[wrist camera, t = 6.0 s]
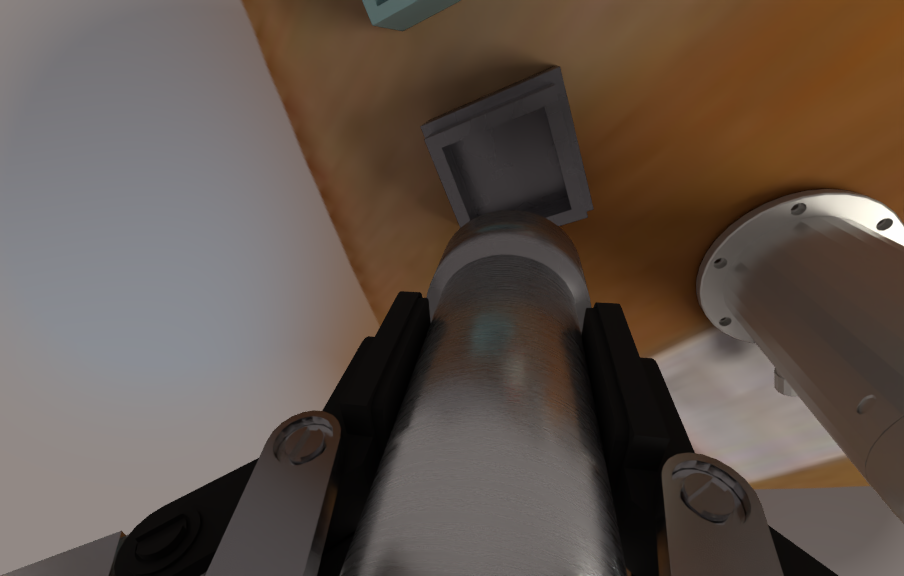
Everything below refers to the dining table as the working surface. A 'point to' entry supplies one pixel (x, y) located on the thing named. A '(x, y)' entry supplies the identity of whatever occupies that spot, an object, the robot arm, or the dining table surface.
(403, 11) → the bin
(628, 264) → the dining table surface
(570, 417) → the pepper mill
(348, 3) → the dining table surface
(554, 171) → the square recessed block
